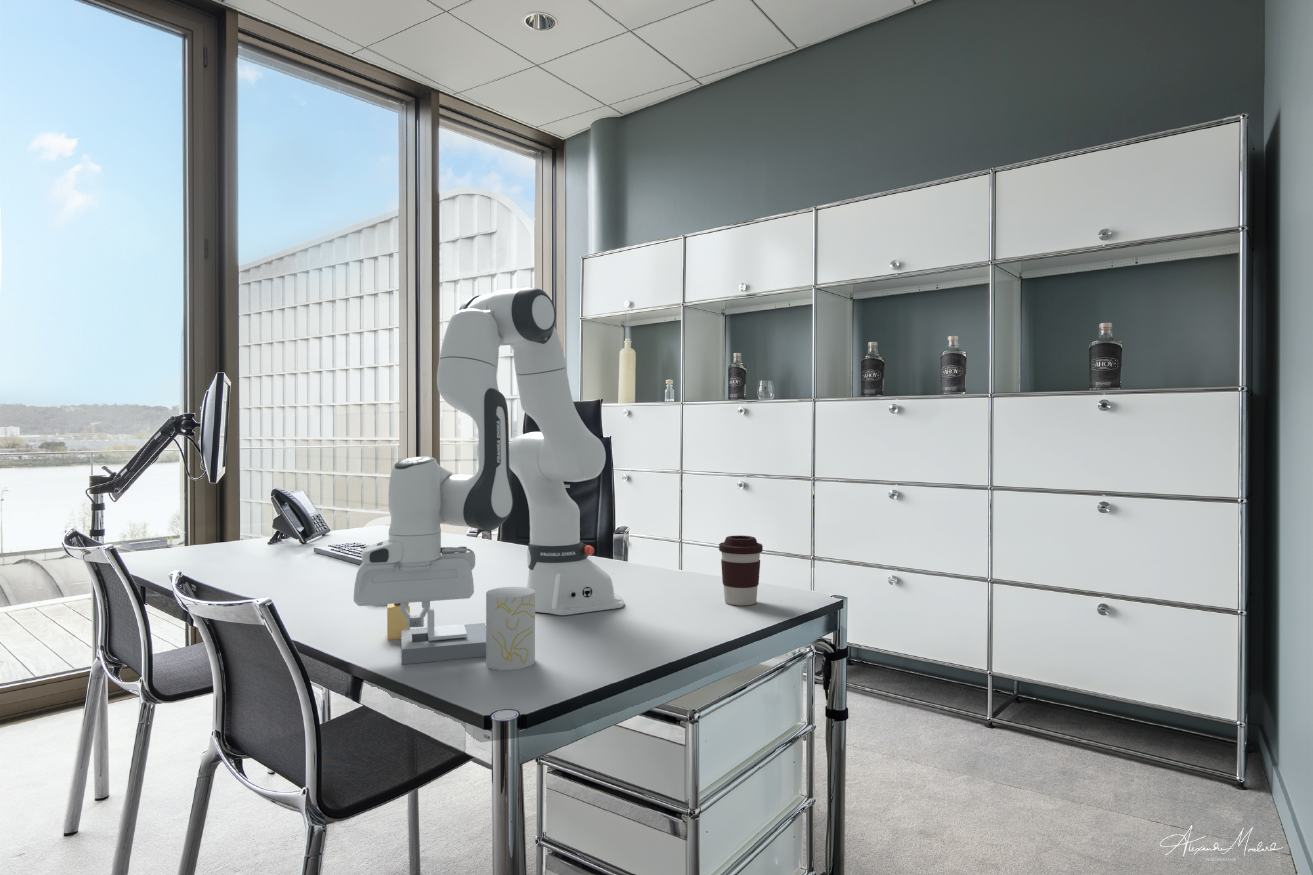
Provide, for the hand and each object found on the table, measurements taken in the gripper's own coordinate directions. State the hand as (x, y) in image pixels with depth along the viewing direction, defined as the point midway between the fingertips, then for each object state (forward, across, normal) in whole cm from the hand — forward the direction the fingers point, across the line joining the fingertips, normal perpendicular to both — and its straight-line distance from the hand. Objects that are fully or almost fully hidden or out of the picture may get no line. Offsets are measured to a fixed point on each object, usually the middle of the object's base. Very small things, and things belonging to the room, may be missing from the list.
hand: (415, 626), depth 131 cm
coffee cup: (+5, -71, -16) cm, 73 cm away
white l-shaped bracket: (+2, -5, 0) cm, 6 cm away
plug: (+5, +3, -12) cm, 13 cm away
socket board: (+4, -5, 0) cm, 7 cm away
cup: (+5, -15, +11) cm, 19 cm away
